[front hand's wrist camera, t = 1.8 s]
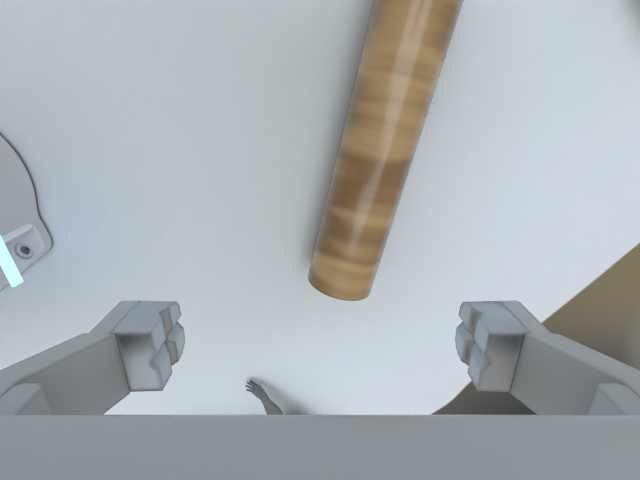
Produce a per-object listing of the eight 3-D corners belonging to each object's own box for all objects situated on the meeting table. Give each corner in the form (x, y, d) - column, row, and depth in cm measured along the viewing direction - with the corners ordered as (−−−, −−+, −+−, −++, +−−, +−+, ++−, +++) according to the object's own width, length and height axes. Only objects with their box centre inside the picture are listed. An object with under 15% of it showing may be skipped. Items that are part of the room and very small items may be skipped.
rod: (365, 274, 37) (375, 306, 32) (308, 263, 36) (307, 293, 31) (450, -6, 28) (486, -32, 23) (377, -27, 27) (395, -60, 22)
